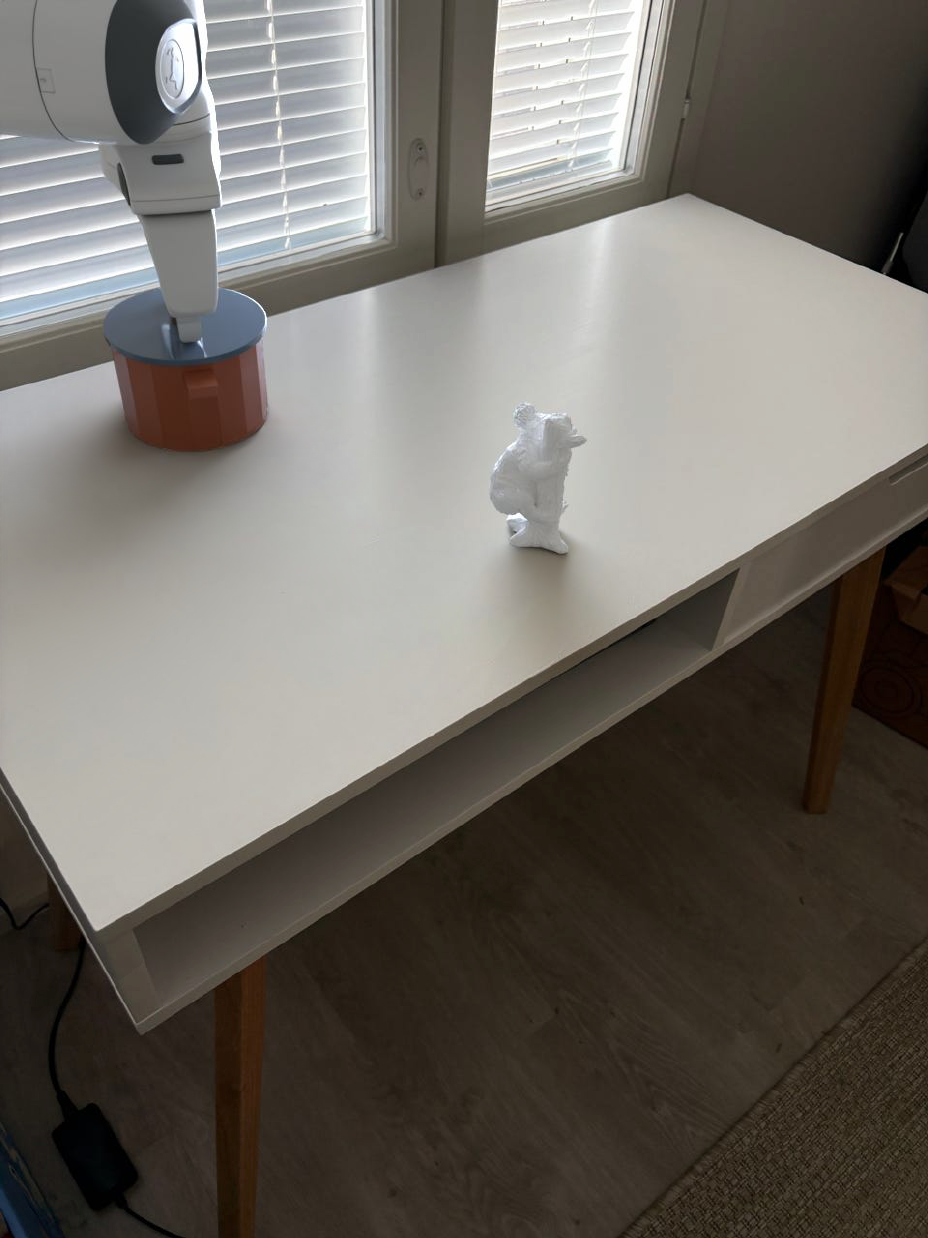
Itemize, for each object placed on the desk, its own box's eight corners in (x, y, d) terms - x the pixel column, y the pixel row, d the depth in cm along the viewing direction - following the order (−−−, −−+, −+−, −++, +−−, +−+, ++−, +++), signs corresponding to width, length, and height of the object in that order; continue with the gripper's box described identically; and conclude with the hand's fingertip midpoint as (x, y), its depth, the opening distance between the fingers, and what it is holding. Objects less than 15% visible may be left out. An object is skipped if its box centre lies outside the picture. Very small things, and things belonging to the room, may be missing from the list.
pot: (138, 478, 85) (120, 389, 79) (115, 372, 97) (98, 288, 91) (286, 456, 88) (280, 369, 82) (247, 357, 100) (238, 274, 94)
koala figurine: (594, 556, 80) (618, 427, 72) (518, 575, 78) (533, 443, 70) (547, 496, 86) (564, 370, 78) (474, 512, 84) (484, 383, 76)
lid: (113, 382, 81) (102, 328, 77) (98, 306, 90) (87, 254, 86) (282, 361, 84) (278, 309, 81) (250, 290, 94) (246, 240, 90)
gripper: (102, 106, 83) (131, 269, 92) (131, 201, 69) (161, 381, 78) (181, 103, 84) (201, 263, 94) (224, 194, 71) (243, 371, 80)
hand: (183, 318), depth 86 cm, fingers open, 6 cm apart
